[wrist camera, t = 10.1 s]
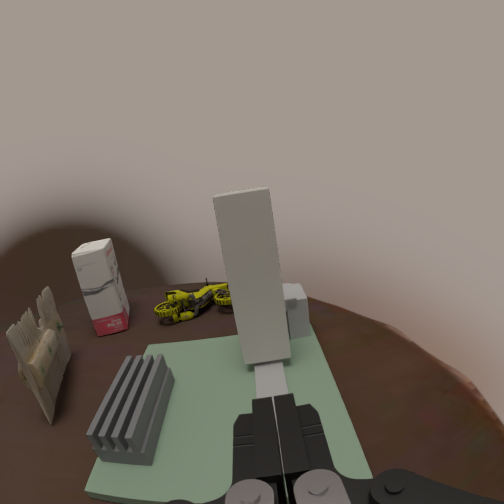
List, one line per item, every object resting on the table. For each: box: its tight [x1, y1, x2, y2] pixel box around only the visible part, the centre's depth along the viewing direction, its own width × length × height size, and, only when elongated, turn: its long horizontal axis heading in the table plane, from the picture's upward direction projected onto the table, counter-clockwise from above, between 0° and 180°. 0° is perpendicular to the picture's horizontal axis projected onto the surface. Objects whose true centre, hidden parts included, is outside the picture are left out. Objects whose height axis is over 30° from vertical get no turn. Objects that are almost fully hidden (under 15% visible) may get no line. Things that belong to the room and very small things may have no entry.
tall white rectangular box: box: [213, 187, 291, 365], centre depth 27 cm, size 8×4×14 cm, turn 2°
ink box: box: [72, 238, 130, 336], centre depth 40 cm, size 9×5×12 cm, turn 19°
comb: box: [6, 286, 72, 424], centre depth 26 cm, size 15×2×10 cm, turn 23°
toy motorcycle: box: [154, 278, 232, 322], centre depth 42 cm, size 12×4×7 cm
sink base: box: [84, 283, 373, 504], centre depth 23 cm, size 22×18×5 cm
